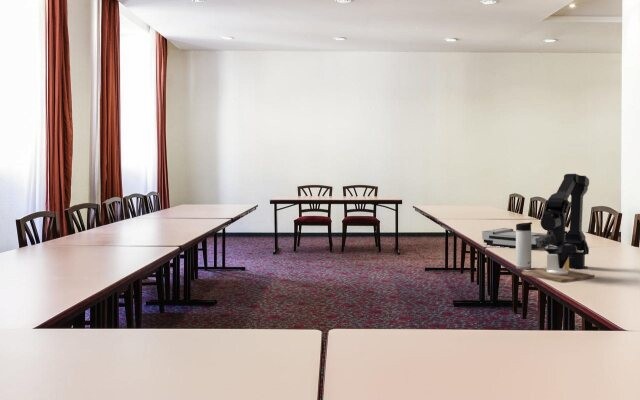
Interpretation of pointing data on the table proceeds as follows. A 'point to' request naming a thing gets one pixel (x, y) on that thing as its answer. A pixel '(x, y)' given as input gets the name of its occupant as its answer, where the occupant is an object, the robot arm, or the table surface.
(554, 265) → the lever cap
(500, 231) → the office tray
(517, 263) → the travel mug
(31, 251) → the table surface
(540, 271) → the base plate
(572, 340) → the table surface
